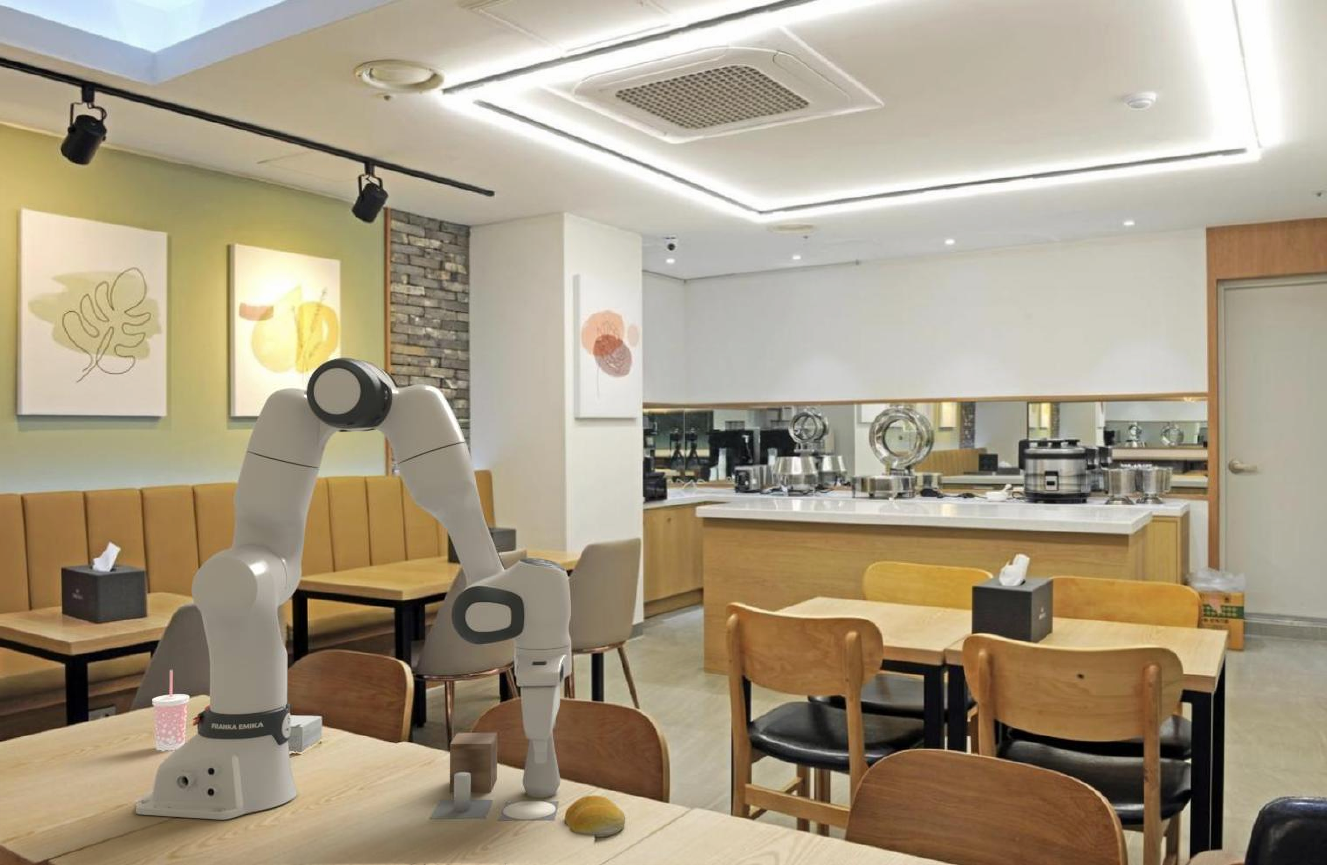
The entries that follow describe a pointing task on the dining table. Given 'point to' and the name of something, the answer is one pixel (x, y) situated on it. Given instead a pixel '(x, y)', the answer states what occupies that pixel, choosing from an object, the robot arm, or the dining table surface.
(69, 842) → the dining table surface
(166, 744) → the beverage cup
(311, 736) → the small box
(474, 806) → the board
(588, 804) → the bread roll
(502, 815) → the board
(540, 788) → the salt shaker
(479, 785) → the brown wooden block
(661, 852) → the dining table surface
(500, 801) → the dining table surface
